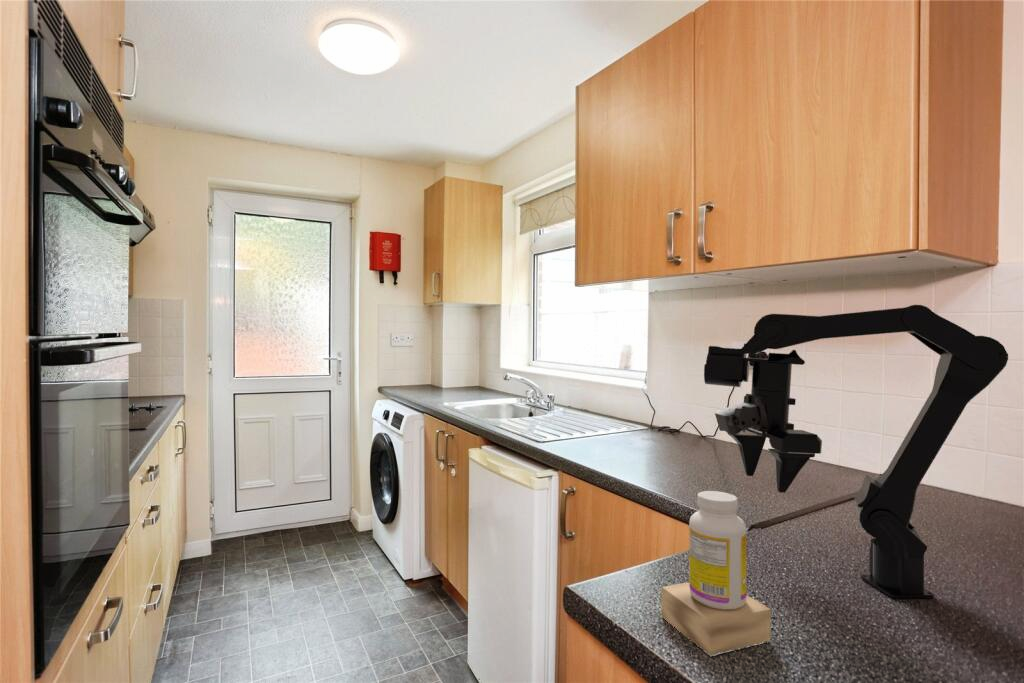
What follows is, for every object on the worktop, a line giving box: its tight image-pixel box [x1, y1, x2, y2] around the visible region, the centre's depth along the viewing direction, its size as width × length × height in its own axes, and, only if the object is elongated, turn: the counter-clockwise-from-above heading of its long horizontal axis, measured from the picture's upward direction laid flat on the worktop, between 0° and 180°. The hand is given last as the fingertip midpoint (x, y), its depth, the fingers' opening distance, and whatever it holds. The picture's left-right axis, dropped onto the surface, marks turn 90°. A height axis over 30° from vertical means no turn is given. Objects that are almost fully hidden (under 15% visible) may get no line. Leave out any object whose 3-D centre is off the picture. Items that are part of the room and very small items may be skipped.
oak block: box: [661, 581, 772, 655], centre depth 64 cm, size 9×9×4 cm
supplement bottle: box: [688, 490, 747, 610], centre depth 64 cm, size 7×7×13 cm
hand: (764, 483), depth 84 cm, fingers open, 9 cm apart
